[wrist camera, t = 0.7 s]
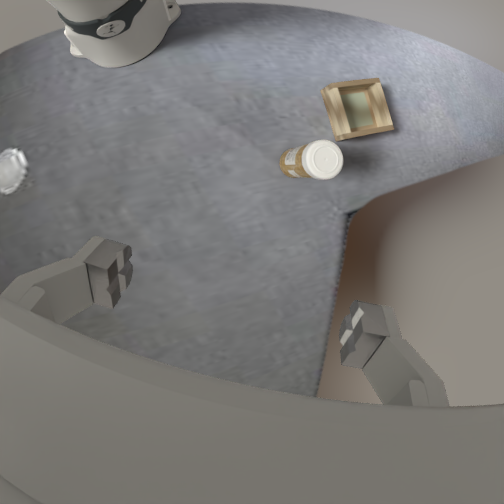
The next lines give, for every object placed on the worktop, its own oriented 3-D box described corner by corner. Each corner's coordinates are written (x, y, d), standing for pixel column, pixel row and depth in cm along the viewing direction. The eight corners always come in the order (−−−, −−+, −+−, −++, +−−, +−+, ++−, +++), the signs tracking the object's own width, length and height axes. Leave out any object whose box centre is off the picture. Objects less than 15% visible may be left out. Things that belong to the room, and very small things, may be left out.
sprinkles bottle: (289, 183, 46) (320, 187, 33) (273, 158, 44) (298, 152, 31) (313, 167, 45) (351, 166, 33) (297, 142, 44) (331, 131, 31)
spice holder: (320, 90, 42) (331, 83, 38) (365, 84, 43) (378, 77, 39) (335, 141, 45) (347, 138, 40) (379, 132, 45) (394, 129, 41)
